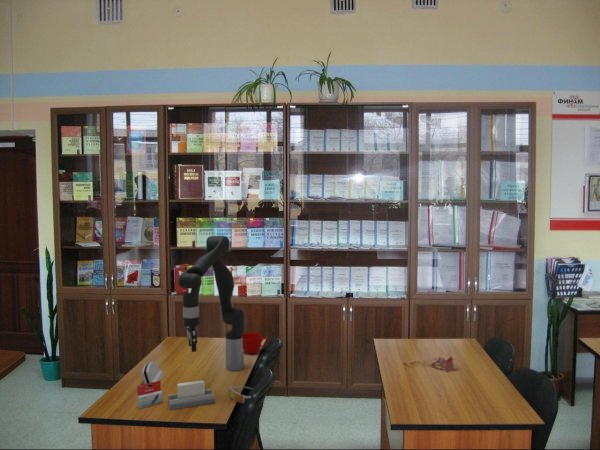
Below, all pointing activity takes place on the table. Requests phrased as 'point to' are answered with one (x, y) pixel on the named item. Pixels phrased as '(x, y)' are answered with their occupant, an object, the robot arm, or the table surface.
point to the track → (190, 400)
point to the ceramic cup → (252, 342)
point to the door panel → (191, 389)
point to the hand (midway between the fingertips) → (192, 348)
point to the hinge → (151, 372)
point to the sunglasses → (238, 395)
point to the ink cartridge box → (149, 394)
